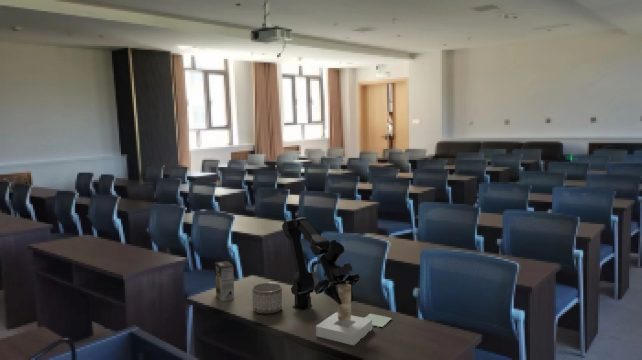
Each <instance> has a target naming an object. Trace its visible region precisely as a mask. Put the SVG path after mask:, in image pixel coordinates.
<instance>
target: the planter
mask: <svg viewBox="0 0 642 360" xmlns="http://www.w3.org/2000/svg"><path fill="white" fill-rule="evenodd" d="M282 288H283V286H282V285H281V284H279V283H277V282H271V281H270V282H260V283H257V284H254V285H253V286H252V289H251V291H252V292H251V293H252V310H253V311H254V312H255V313H259V314H273V313H274V314H275V313H277V312H279V311H280V310H282V308H283V289H282Z"/></svg>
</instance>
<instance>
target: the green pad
mask: <svg viewBox="0 0 642 360" xmlns="http://www.w3.org/2000/svg"><path fill="white" fill-rule="evenodd" d="M364 318H367V319H371V320H372V327H374V326H377V327H376V328H379V327H383V326H384V325H385V326H387V325H388V324H389V323H390V322H391V321H392V320H393V318H392V317H388V316H384V315H379V314H374V313H369V314H368V315H366V316H365V317H364ZM391 319H392V320H391ZM390 320H391V321H390ZM389 321H390V322H389ZM388 322H389V323H388ZM387 323H388V324H387ZM385 326H384V327H385ZM384 327H383V328H384Z"/></svg>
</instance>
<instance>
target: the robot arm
mask: <svg viewBox="0 0 642 360" xmlns="http://www.w3.org/2000/svg"><path fill="white" fill-rule="evenodd" d="M281 229H282V231H283V234H284V236H285V238H287V239H288V241H289V245H290V249H291V250H290V251H291V254H292V258H293V264H294V268H295V275H294V278H293V282H294V284H293V285H292V286H291V288H290V291H291V294H293V295H294V305H292V308H295V309H299V310H303V311H305V310H307V309H309V308H310V307H311V306H313V304H312V296H311V293H312V294H313V293H314V291H315V294H316V295H318V294H323V295H326V296H327V297H329V298H330V299H332V300H333V301H334V302H335V303H337V305H338V304H339V305H341V304H342V303H341V300H340V298H339V296H338V290H337V288H336V287H338V285H339V284H350V285H351V303H353V302H354V297H353V296H354V295H353V286H356V285H357V284H358V282H360V280H361V276H360V274H359V273H356V272H355V273H351V272H353V267H352V264H351V263H344V265H343V266H341V265H340V264H337V261H338V260H339V259H340V258H341V256H342V255H343V254H344V252H345V247H344V245H343V244H342V243H340V242H339V241H337V240H336V239H331V240H330V241H329V239H327V238H326V237H325V236H323V235H320V234H318V232H317V231H316V230H315V229H314V228H313V226H312V225H311V224H310V223H309V221H308V219H307V218H306V217H305V216H304V217H296V218H294V219H288V220H287V219H285V220H284V221H283V223H282V225H281ZM302 235H303V236H304V238H305V239H306V240H307V241H308V243H309V249H310V250H311V252H312V254H313V255H314V256H319V257H318V260H317V264H318V265H321V267H322V269H323V272H324V273H323V276H324V278H325V277H326V279H323V280H319V281H318V283H316V285H315V280H314V274H313V273H312V272H310V271H309V270H308V269H307V265H306V264H307V263H306V259H305V254H304V248H303V245H302V241H301V237H302ZM320 255H321V256H320ZM350 273H351V274H350ZM346 276H347V277H346Z"/></svg>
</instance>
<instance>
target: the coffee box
mask: <svg viewBox="0 0 642 360" xmlns="http://www.w3.org/2000/svg"><path fill="white" fill-rule="evenodd" d="M214 272H215V273H214V275H215V276H214V277H215V296H216V297H217V298H218V299H219V300H220V302H226V301H230V300H234V299H235V293H234V292H235V284H234V283H235V281H234V280H235V279H234V278H235V275H234V264H232V263H231V262H230V261H228V260H226V261H224V260H223V261H217V262H214Z"/></svg>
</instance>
